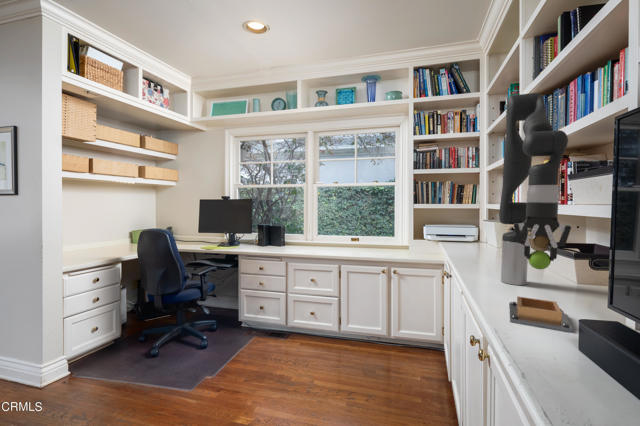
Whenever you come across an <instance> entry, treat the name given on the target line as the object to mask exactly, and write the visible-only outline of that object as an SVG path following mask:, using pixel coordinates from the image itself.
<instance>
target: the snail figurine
mask: <svg viewBox="0 0 640 426" xmlns="http://www.w3.org/2000/svg"><path fill="white" fill-rule="evenodd" d="M528 230H531V228H528ZM528 236H530V237H531V236H532V233H530V232H528ZM529 243H530V249H532V250H534V251H533V252H530V259H528V264H529V265H530V266H531V267H532V268H533V269H535V270H545V269H547V268H548V267H549V266H550V265H551V262H552V261H551V259H550V254H548V253H547V251H548V250H550V247H549V245H551V244H550V240H549V238H548V237H544V236H534V237H533V239H532V238H529Z"/></svg>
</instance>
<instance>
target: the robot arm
mask: <svg viewBox="0 0 640 426" xmlns="http://www.w3.org/2000/svg"><path fill="white" fill-rule="evenodd" d="M505 109H506V111H505V114H506V117H505V118H506V121H505V123H506V124H505V145H504V146H505V147H504V155H503V163H502V164H503V166H502V167H503V169H502V170H503V171H502V189H501V195H500V204H499V212H498V219H499V222H500V223H501V224H503V225H513V228H514V230H512V231H508V232H504V233H503V234H502V237H501V240H502V241H501V243H502V244H501V264H500V265H501V267H500V281H501V282H502V283H504V284H508V285H514V286H516V285H517V286H526V285H527V283H528V281H527V280H528V264H529V261H528V259H530V254H531V246H530V243H529V238H532V239H534V237H535V236H544V237H548V238H549V240H550V244H549V245H551V246H550V247H549V256H550V259H551V262H554V261H555V260H557V257H558V248H561V247H565V246H567V245H566V244H567V241H568V239H569V235H570V233H571V230H572V226H570V225H569V224H561V223H560V222H559V221H558V220H559V219H558V218H559V217H558V215H559V214H558V213H559V212H558V211H559V201H560V197H559V195H560V194H559V171H560V166H561V163H562V160H563V157H564V154H565V152H566V149H567V147H568V143H569V138H568V135H567V134H566V132H564V130H558V129H557V130H554V128H553V125H552V124H551V123H550V121H549V119H548V116H547V109H546V103H545V99H544V97H543V95H542V94H541V93H540V92H532V93H531V92H530V93H521V94H514V95H510V96H509V97H508V99H507V103H506V108H505ZM517 122H523V123H522V131H523V132H522V133H523V134H524V140H523V139H522V137H521V135H520V132H519V130H518V128H517ZM533 157H549V159H548V160H547V161H546V162H544V163H540V164H535V165H532V161H533ZM526 179H528V187H527V192H526V202H525V201H524V202H522V201H521V202H517V201H511V200H512V198H513V195H514V194H515V192H516V191H517V190H518V188H519V187H520V186H521V185H522V184H524V182H525V181H526ZM528 228H531V230H528ZM558 228H559V230H560V232H561V236H560V238H559V240H558V241H557V242H556V239H555V235H554V232H555V231H556V230H557V229H558ZM528 232H530V233H532V236H531V237H530V236H528Z"/></svg>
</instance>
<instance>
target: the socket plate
mask: <svg viewBox="0 0 640 426" xmlns="http://www.w3.org/2000/svg"><path fill="white" fill-rule="evenodd" d="M516 297H517V298H516V301H509V304H508V308H509V309H508V310H510V311H509V323H513V324H519V323H520V325H525V324H526V325H525V326H533V327H537V328H542V329H543V328H544V329H549V330H550V329H551V330H556V331H560V332H565V333H566V332H567V333H573V327H572V325H571V323H570V322H569V320H568V318H567V315H566V314H565V312H564V310H563V309H562V308H560V306H559V304H558V303H557V301H554V300H545V299H539V298H530V297H526V296H525V297H524V296H516Z"/></svg>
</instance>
